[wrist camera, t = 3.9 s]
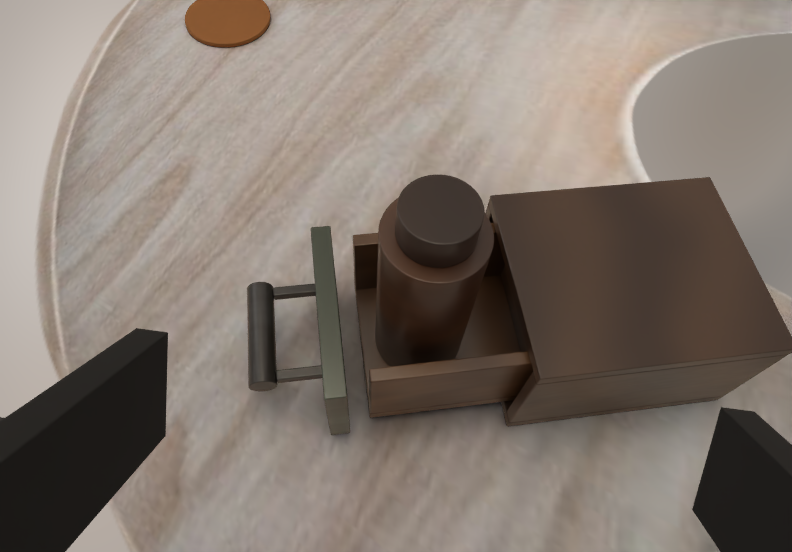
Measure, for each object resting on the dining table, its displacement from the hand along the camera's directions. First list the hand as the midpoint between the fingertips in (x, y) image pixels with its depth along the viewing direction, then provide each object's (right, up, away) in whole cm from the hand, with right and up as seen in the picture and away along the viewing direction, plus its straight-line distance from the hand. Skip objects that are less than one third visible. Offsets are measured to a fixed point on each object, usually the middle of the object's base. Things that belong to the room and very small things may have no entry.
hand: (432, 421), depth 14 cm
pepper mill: (+1, -1, +25) cm, 25 cm away
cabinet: (+13, 0, +28) cm, 31 cm away
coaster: (-17, +28, +43) cm, 54 cm away
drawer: (-1, -1, +26) cm, 26 cm away
